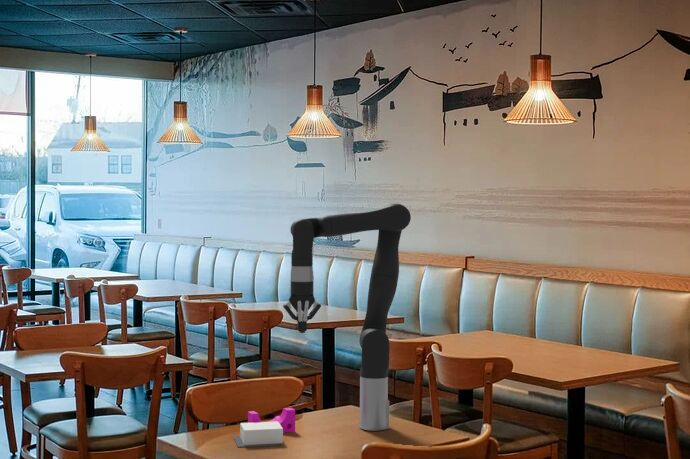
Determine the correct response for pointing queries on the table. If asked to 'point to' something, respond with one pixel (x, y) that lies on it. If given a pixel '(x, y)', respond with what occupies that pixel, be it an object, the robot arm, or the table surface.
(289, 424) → the toy block
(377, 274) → the robot arm
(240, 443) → the mat
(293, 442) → the table surface
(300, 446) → the table surface
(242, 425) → the white rectangular block
